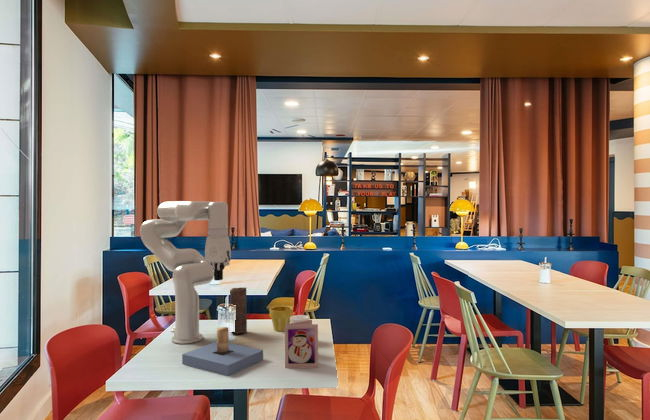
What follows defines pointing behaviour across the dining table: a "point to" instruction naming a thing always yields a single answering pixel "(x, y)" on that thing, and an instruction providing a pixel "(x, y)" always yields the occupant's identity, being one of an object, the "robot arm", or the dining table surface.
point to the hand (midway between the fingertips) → (218, 279)
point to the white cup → (298, 318)
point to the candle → (239, 308)
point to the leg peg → (222, 341)
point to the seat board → (222, 358)
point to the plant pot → (280, 317)
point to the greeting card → (301, 345)
